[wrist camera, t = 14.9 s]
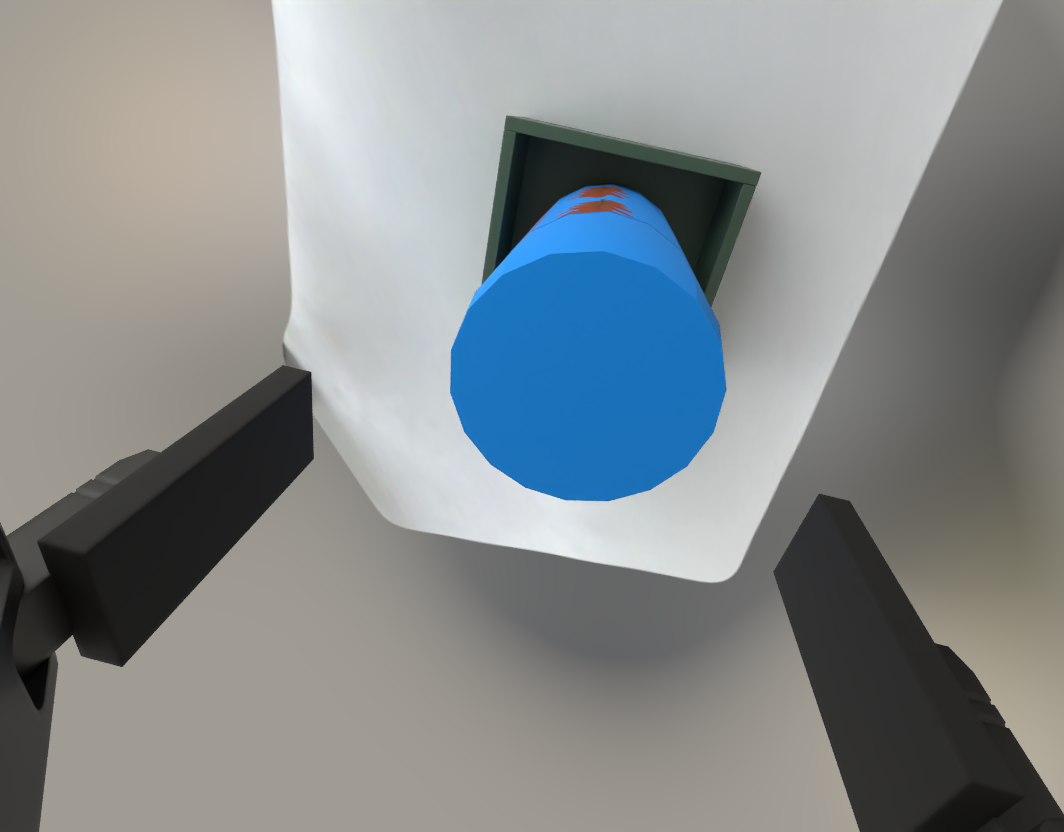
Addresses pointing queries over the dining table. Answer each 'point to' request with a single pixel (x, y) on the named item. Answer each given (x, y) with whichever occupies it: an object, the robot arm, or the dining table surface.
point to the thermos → (590, 352)
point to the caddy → (589, 158)
